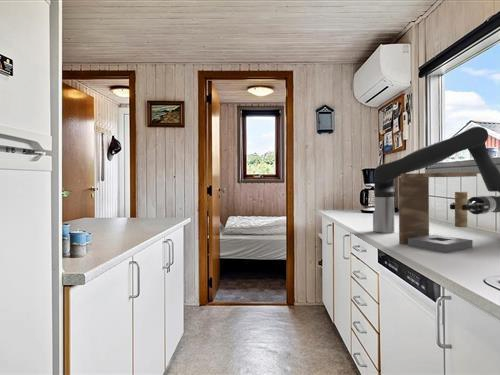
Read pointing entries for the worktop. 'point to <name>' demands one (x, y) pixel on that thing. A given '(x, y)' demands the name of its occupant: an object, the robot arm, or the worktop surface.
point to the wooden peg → (460, 209)
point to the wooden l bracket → (417, 203)
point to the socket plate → (440, 243)
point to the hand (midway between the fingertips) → (457, 207)
